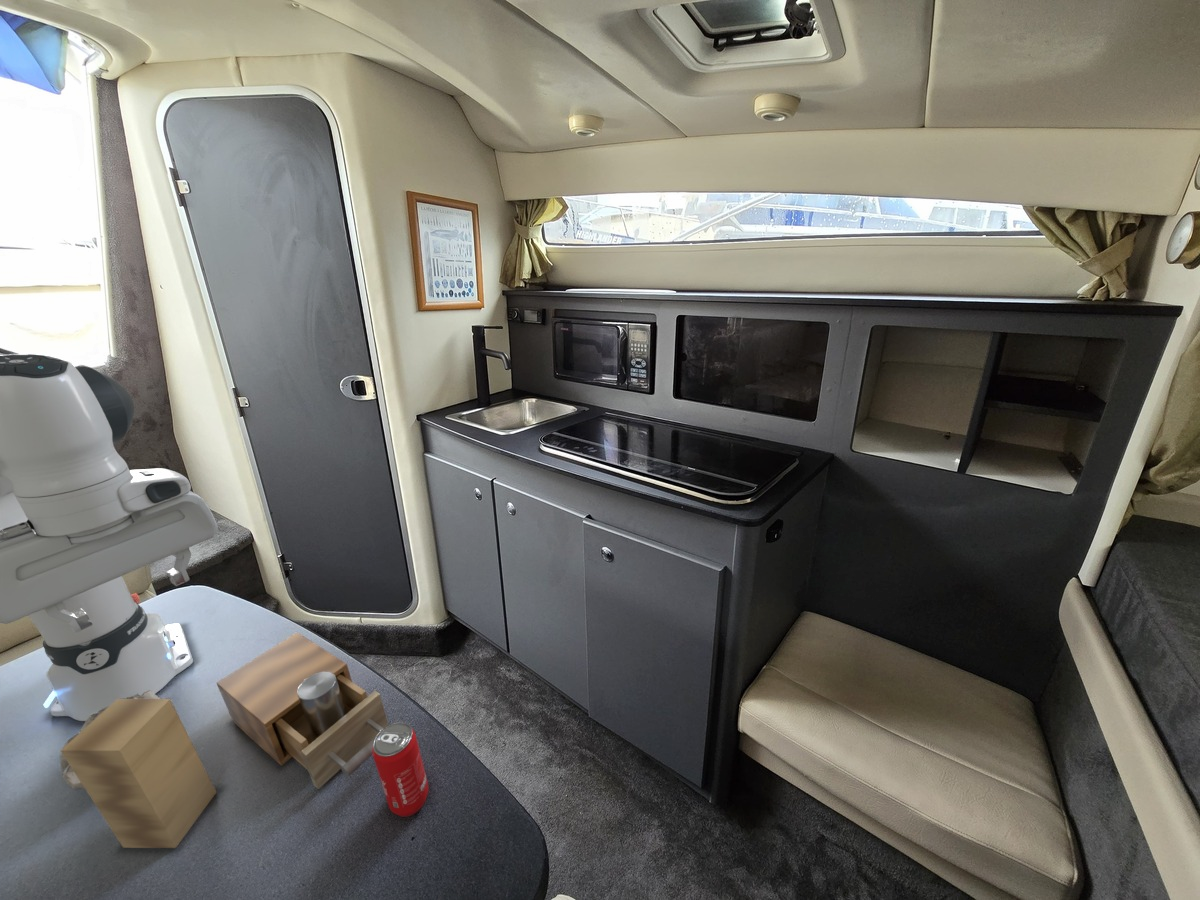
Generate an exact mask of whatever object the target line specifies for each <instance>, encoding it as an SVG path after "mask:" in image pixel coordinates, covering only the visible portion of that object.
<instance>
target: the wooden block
mask: <svg viewBox="0 0 1200 900" xmlns="http://www.w3.org/2000/svg"><path fill="white" fill-rule="evenodd" d="M77 734H78V735H77ZM77 734H76V735H77V736H76V737H75V738H74V739H73V740H72V741H70V742H69V743H68V744H67V745H66V746H65V745H64V746H65V747H64V746H63V747H62V748H61V750H60V753H62V754H63V755H64V757H65V758H66V760H67V762H68V763H69V765H70V766H71V768H72V769H73V771H74V772H75V774H76V775H77V777H78V779H79V780H80V782H81V783H82V785H83V786H84V788H83V789H85V791H86V793H87V794H88V796H89V797H90V799H91V800H92V802H93V803H94V805H95V807H96V808H97V809H98V812H99V813H100V814H101V816H102V817H103V820H105V822H106V824H107V825H108V826H109V829H110V830H111V831H112V833H113V834H114V836H115V838H116V839H117V840H118V842H119V843H120V845H121V847H122V848H123V849H176V848H177V847H178V846H179V845H180V844H181V842H182V841H183V839H184V838H185V836H186V835H187V834H188V833H189V831H190V830H191V828H192V827H193V825H194V824H195V823H196V822H197V820H198V819H199V817H200V816H201V815H202V814H203V812H204V810H205V809H206V808H207V806H208V805H209V804H210V802H211V801H212V800H213V798H214V797H215V795H216V794H217V790H216V788H215V787H214V786H215V785H214V784H213V781H212V780H211V779H210V776H209V774H208V772H207V770H206V769H205V766H204V764H203V762H202V760H201V757H200V756H199V754H198V752H197V751H196V748H195V746H194V744H193V742H192V740H191V738H190V736H189V733H188V731H187V730H186V728H185V726H184V724H183V722H182V720H181V718H180V716H179V714H178V712H177V710H176V708H175V706H174V704H173V702H172V699H171V698H160V699H117V700H116V701H114V702H113V703H112V704H111V705H110V706H109V707H108V708H107V709H106V710H105V711H103V712H102V713H101V714H100V715H99V716H98V717H97V718H96V719H95V720H94V721H92V722H91V723H90V724H89V725H88V726H87V727H86V728H85V729H84V730H83V731H81V732H80V731H79V733H77Z"/></svg>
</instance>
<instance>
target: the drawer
mask: <svg viewBox="0 0 1200 900" xmlns="http://www.w3.org/2000/svg"><path fill="white" fill-rule="evenodd" d="M336 679H337V682H338V686H339V689H340V692H341V695H342V698H343V701H344V705H345V708H346V711H347V714H346V715H345V716H344V717H342V718H341V719H340V720H339V721H337V722H336V723H335V724H334V725H333V726H331V727H330V728H329V729H328V730H327V731H325V732H324V733H323V734H322V735H320V736H319V737H318V738H317V739H316V740H314V739H313V737H312V734H311V731H310V728H309V726H308V723H307V720H306V717H305V714H304V712H303V709H302V706H301V703H299V704H298V705H297V706H295V707H294V708H293V709H291V710H290V711H289V712H287V713H286V714H285V715H283V716H282V717H281V718H279V719H278V720H277V721H275V722H274V723H272V726H273V729H274V731H275V734H276V736H277V739H278V741H279V744H280V746H281V747H282V748H283V749H284V750H285V751H286V752H288V753H289V754H290V755H291V756H292V758H293V759H294V760H295V761H296V762H298V763H299V764H300V765H301V766H302V767H303V768H305V769H306V770H307V771H308V774H309V776H310V779H311V782H312V784H313V786H314V787H315V788H316V789H318V790H320V789H321V788H322V786H324V785H325V784H326V783H327V782H328V781H329V780H330V779H332V777H333V776H335V775H336V774H337V773H339V771H340V770H341V772H342V773H343V774H344V775H345V776H346V777H347V778H349V777H350V776H351V775H353V773H355V771H357V770H358V769H359V768H360V767H361V766H362V765H363V764H364V763H365V762H366V761H367V760H368V759H370V758H371V757H372V756H373V744H374V740H375V738H376V736H377V735H378V733H379V732H380V731H381V730H382V729H384V728H385V727H387V726H388V725H389V722H388V718H387V714H386V711H385V707H384V704H383V700H382V696H381V693H380V692H378V691H377V690H373V691H372V693H370V694H369V695H368V693H367V691H366V690H365V689H363V688H362V687H360V686H359V685H357V684H356V683H354V682H353V681H352V682H351V681H350V680H348V679H347V678H345V677H344V676H342V675H341V674H338V675H337V676H336Z"/></svg>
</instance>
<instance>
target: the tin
mask: <svg viewBox="0 0 1200 900" xmlns="http://www.w3.org/2000/svg"><path fill="white" fill-rule="evenodd" d="M297 695H298V698H299V701H300V703H301V706H302V709H303V712H304V714H305V717H306V720H307V723H308V726H309V728H310V731H311V734H312V737H313V739H314V740H316V739H317V738H318V737H319V736H320V735H322V734H323V733H324V732H325V731H327V730H328V729H329V728H330V727H331V726H333V725H334V724H335V723H336V722H337V721H339V720H340V719H341V718H342V717H344V716H345V715H346V714H347V711H346V708H345V705H344V701H343V698H342V695H341V692H340V689H339V686H338V682H337V679H336V676H335V674H333V673H332V672H327V671H325V672H319V673H316V674H314V675H312V676H310V677H308V678H307V679H305V680H304V681H303V682H302V683H301V685H300V686H299V688H298V690H297Z"/></svg>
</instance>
